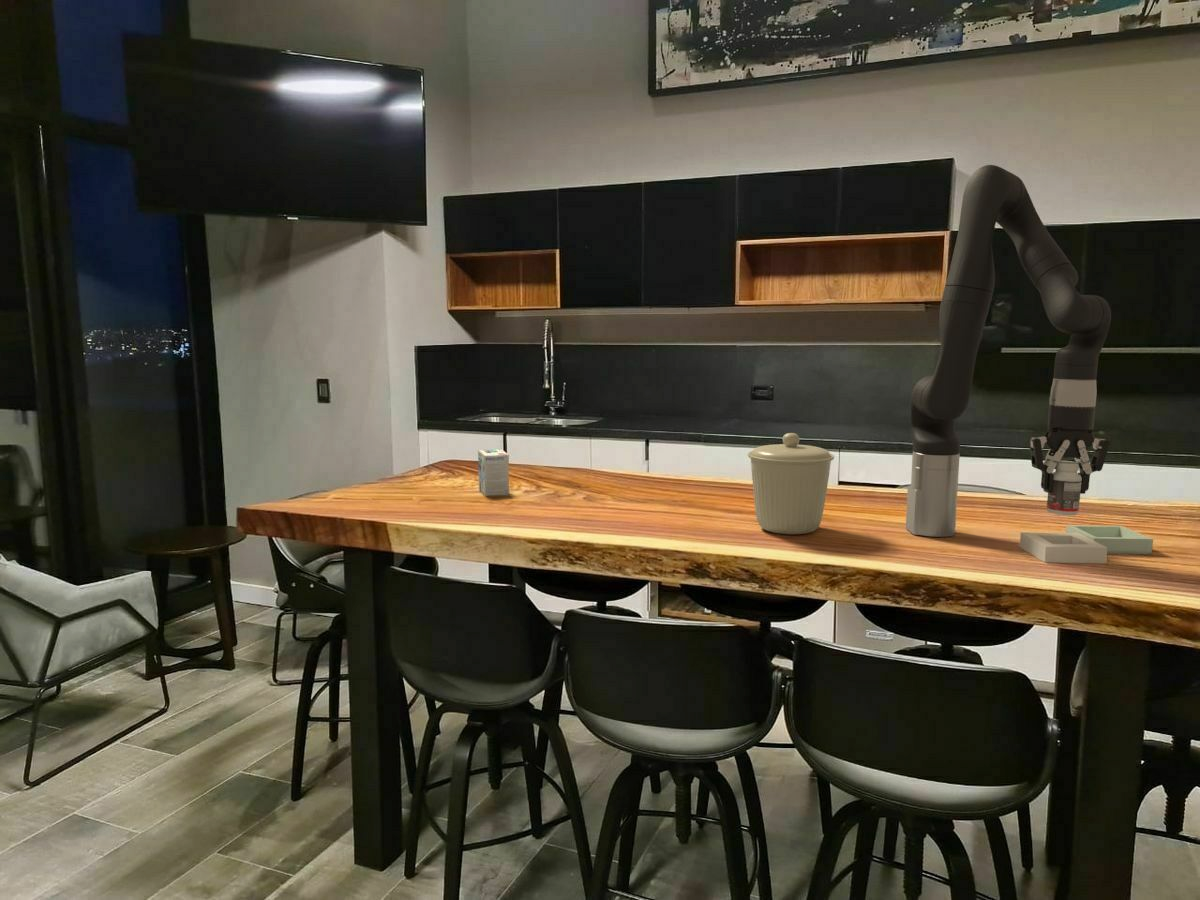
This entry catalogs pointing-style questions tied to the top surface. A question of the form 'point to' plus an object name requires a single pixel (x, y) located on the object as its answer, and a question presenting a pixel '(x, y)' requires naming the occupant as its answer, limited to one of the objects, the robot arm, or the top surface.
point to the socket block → (1063, 547)
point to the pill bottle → (1065, 489)
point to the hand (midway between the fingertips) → (1064, 492)
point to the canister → (790, 485)
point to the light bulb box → (493, 472)
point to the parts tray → (1115, 538)
